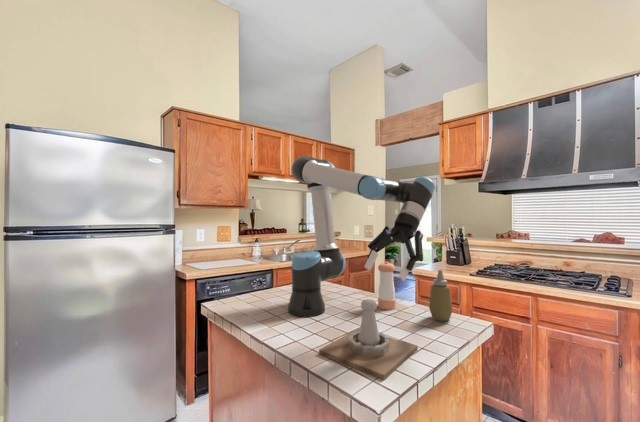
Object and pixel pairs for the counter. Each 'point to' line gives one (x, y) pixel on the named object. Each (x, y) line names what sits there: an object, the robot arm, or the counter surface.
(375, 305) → the salt shaker
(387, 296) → the pepper shaker
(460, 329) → the counter surface
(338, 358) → the collar board
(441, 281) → the squeeze bottle
